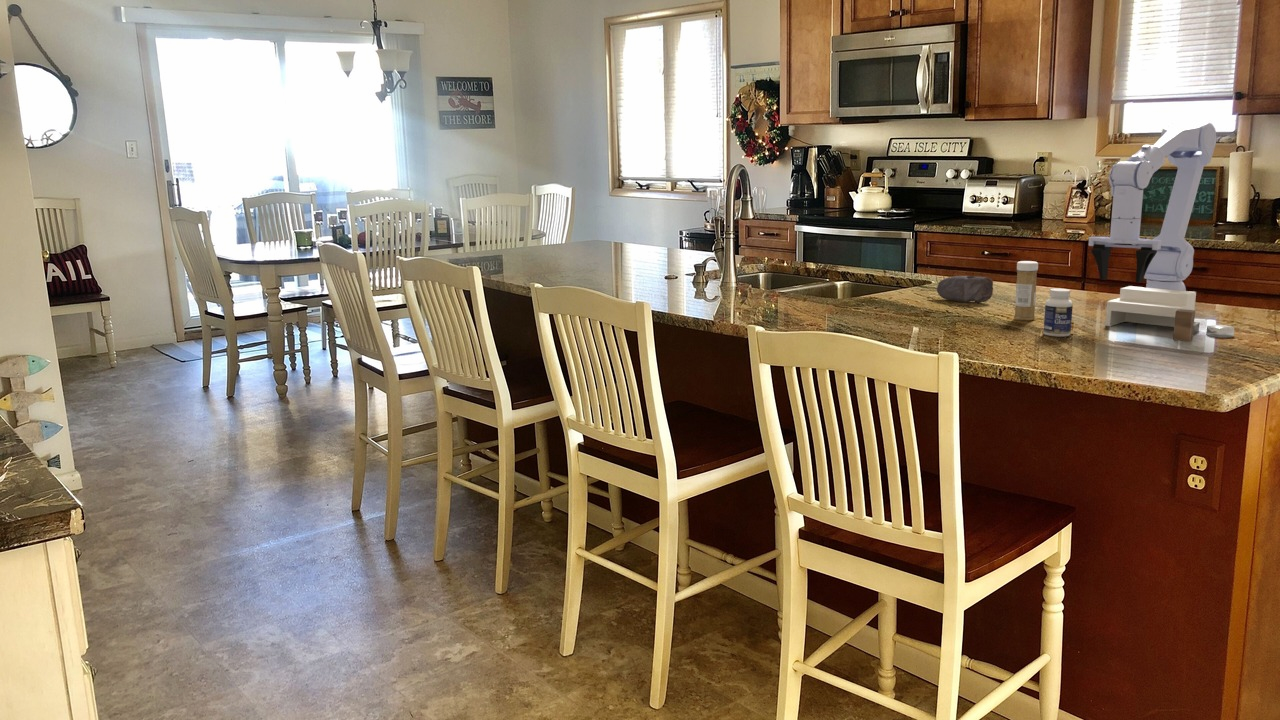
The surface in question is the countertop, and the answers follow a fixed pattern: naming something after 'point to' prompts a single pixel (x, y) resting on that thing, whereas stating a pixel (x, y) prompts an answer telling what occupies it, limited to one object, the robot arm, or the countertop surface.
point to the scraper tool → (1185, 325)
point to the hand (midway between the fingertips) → (1121, 280)
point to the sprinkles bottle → (1026, 290)
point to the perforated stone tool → (966, 289)
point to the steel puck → (1220, 331)
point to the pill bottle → (1058, 313)
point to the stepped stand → (1148, 306)
